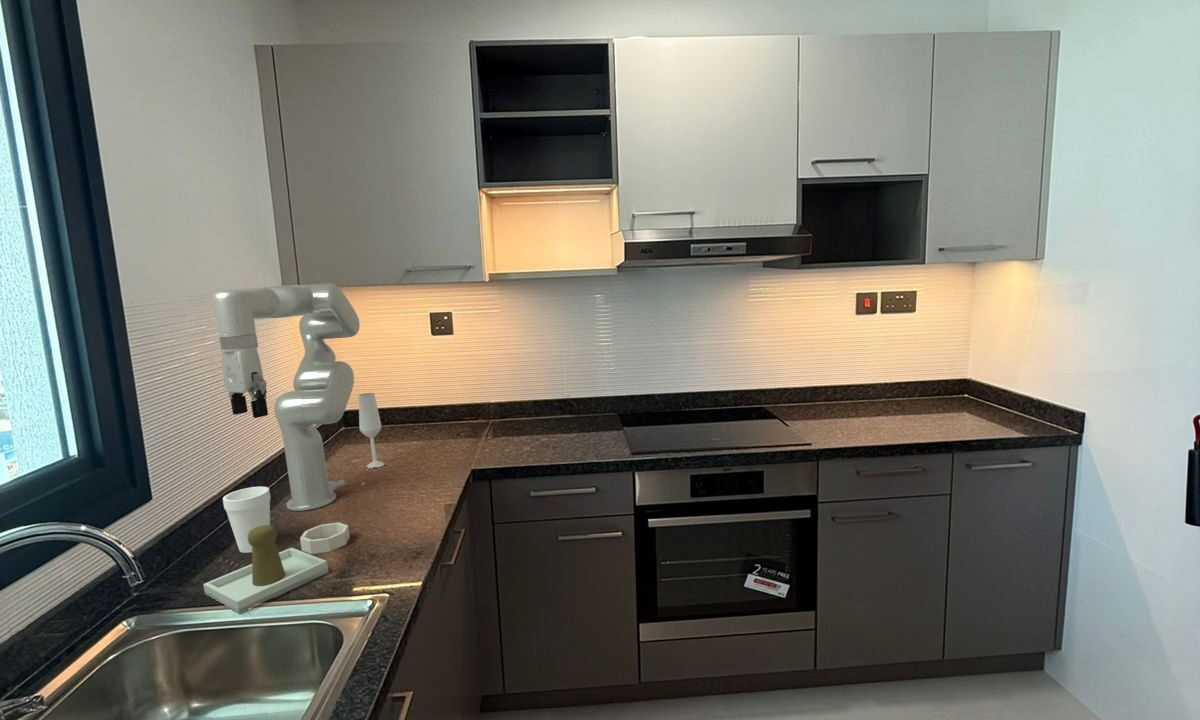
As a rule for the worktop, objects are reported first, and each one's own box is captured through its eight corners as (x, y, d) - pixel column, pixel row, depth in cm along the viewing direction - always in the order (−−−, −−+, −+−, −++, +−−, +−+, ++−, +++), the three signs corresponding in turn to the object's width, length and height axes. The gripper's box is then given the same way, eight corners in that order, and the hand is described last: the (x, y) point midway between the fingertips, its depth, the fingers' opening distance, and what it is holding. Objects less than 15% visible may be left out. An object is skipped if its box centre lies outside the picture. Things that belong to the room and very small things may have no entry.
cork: (253, 576, 129) (245, 525, 127) (286, 568, 131) (278, 519, 129) (250, 589, 123) (242, 536, 122) (284, 581, 126) (276, 529, 124)
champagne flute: (383, 468, 200) (373, 395, 197) (361, 470, 200) (352, 397, 197) (388, 462, 207) (380, 391, 204) (368, 463, 207) (359, 393, 203)
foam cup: (284, 536, 151) (276, 485, 149) (265, 553, 142) (256, 499, 140) (244, 539, 151) (236, 488, 149) (223, 557, 142) (213, 502, 140)
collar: (333, 532, 151) (331, 520, 151) (356, 539, 146) (355, 527, 145) (295, 548, 144) (293, 535, 143) (318, 556, 138) (316, 544, 138)
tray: (292, 558, 138) (291, 547, 138) (328, 572, 130) (327, 561, 130) (205, 595, 124) (203, 584, 124) (239, 614, 116) (237, 601, 115)
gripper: (204, 345, 147) (216, 415, 149) (240, 346, 137) (252, 421, 139) (238, 340, 153) (248, 408, 155) (274, 341, 143) (285, 414, 146)
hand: (250, 414), depth 147 cm, fingers open, 9 cm apart
